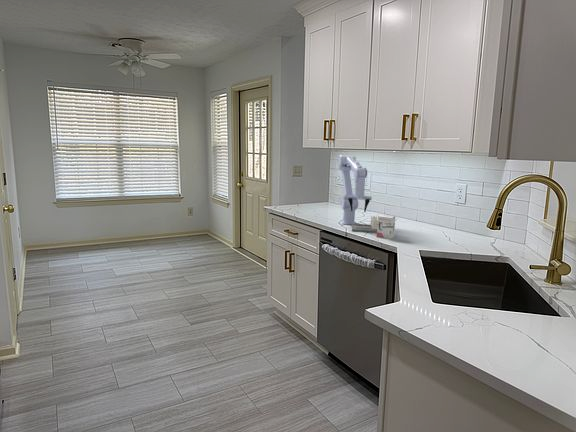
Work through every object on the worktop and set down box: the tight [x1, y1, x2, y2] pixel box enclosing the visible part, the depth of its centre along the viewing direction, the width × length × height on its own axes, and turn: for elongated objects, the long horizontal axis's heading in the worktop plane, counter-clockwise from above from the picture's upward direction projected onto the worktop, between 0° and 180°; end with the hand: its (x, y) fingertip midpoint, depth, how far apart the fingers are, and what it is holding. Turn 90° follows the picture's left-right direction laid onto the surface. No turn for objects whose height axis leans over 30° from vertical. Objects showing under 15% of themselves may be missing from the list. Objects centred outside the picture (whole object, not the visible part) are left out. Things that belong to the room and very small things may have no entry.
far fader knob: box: [369, 216, 378, 226], centre depth 245 cm, size 5×4×5 cm
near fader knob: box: [372, 218, 378, 230], centre depth 236 cm, size 5×4×5 cm
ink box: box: [376, 214, 396, 240], centre depth 221 cm, size 9×5×12 cm, turn 62°
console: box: [351, 223, 377, 234], centre depth 241 cm, size 17×19×1 cm
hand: (358, 211), depth 240 cm, fingers open, 7 cm apart
